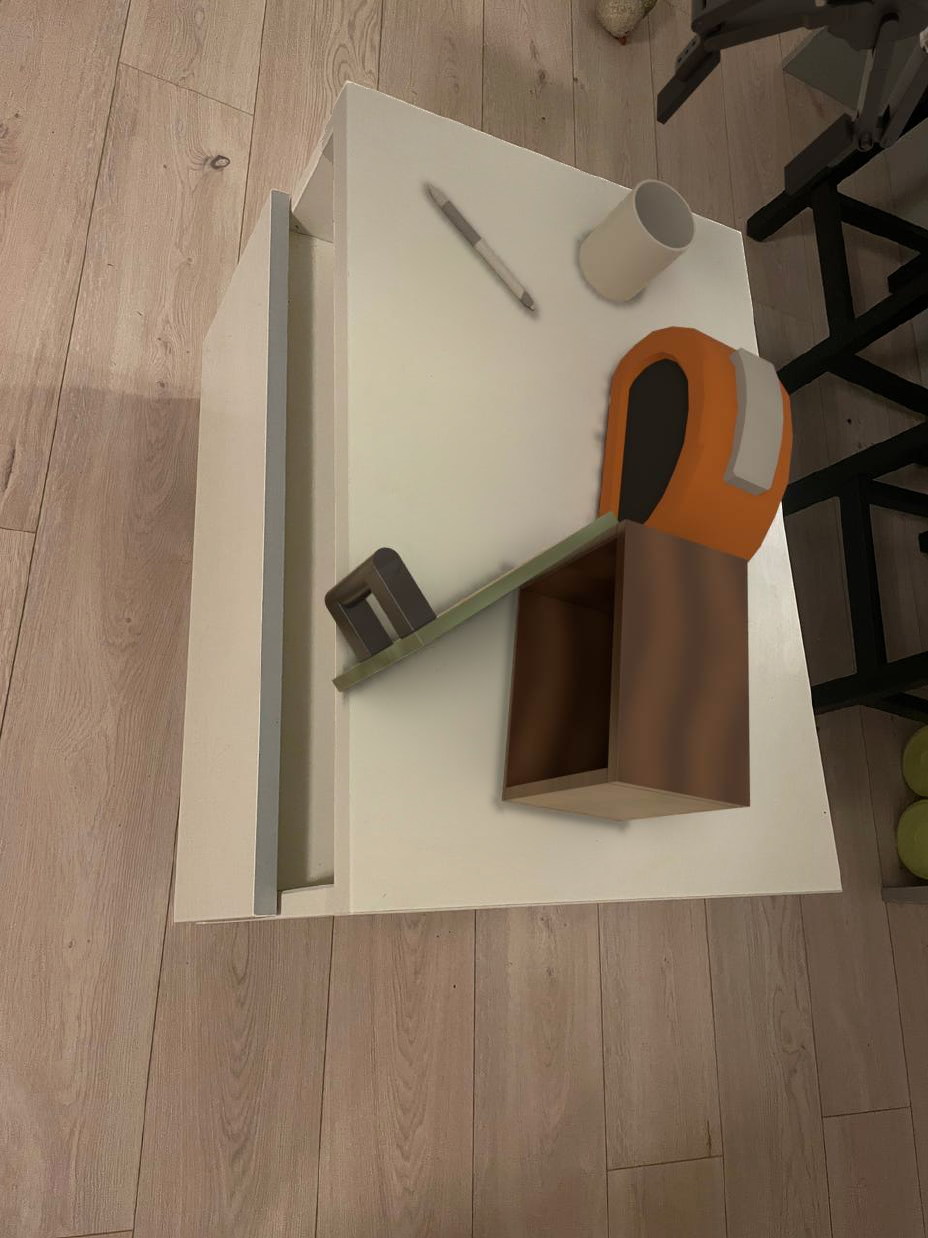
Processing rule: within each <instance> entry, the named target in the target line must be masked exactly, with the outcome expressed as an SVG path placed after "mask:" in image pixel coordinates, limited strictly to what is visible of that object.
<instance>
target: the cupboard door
mask: <svg viewBox="0 0 928 1238" xmlns="http://www.w3.org/2000/svg"><path fill="white" fill-rule="evenodd" d="M618 523H619V522H618V520H617V518H616V517H615V515H614V513H613V512H612V511H610V512H608V513H606V514H605V515H603V516H601V517H600V518H599V517H598V518H596V519H595V520H593V521H591V522H590V523H588V524H586V525H584V526H583V527H581V528H579V529H578V530H576V531H574V532H573V533H571V534H569V535H567V536H566V537H563V538H562V539H561V540H559V541H557V542H556V543H554V544H552V545H551V546H549V547H547V548H546V549H544V550H543V551H541V552H538V553H537V554H536V555H533V556H532V557H530V558H529V559H527V560H525V561H524V562H522V563H520V564H518V565H517V566H515V567H513V568H512V569H510V570H509V571H506V572H505V573H503V574H502V575H500V576H499V577H497V578H495V579H494V580H492V581H490V582H489V583H488V584H486V585H484V586H482V587H480V588H479V589H478V590H475V592H472V593H471V594H470V595H467V596H466V597H465V598H463V599H461V600H459V601H458V602H456V603H454V604H453V605H452V606H450V607H448V608H447V609H445V610H443V611H442V612H440V613H439V614H436V613H435V612H434V610H433V608H432V607H431V605H430V603H429V601H428V600H427V598H426V596H425V595H424V593H423V592H422V590H421V589H420V587H419V585H418V583H417V582H416V580H415V579H414V577H413V576H412V574H411V572H410V571H409V569H408V567H407V565H406V564H405V562H404V561H403V559H402V557H401V556H400V553H398V552H397V551H396V550H395V549H393V548H390V547H387V546H386V547H385V546H384V547H380V548H378V549H377V550H375V551H373V553H372V554H371V555H369V556H368V557H367V558H365V560H363V561H362V562H361V563H360V564H359V565H358V566H356V567H355V568H354V569H353V570H352V571H350V572H349V573H348V574H346V576H344V577H342V579H341V580H339V581H338V582H337V583H336V584H335V585H333V586H332V587H331V588H330V589H329V590H328V591H326V594H325V596H324V605H325V608H326V609H327V611H328V612H329V614H330V616H331V617H332V619H333V620H334V622H335V624H336V626H337V627H338V629H339V630H340V632H341V633H342V636H343V637H344V638H345V640H346V641H347V643H348V645H349V647H350V648H351V651H353V653H354V655H355V657H356V658H357V659H358V662H359V663H357V664H356V665H354V666H353V667H351V668H349V669H348V670H346V671H344V672H343V673H341V674H340V675H337V676H336V677H335V678H333V679H331V682H332V683H333V685H334V687H335V688H336V690H337V692H339V693H341V692H342V691H344V690H346V689H348V688H350V687H351V686H354V685H356V684H357V683H359V682H361V681H363V680H364V679H366V678H368V677H370V676H372V675H374V674H376V673H378V672H379V671H381V670H383V669H385V668H387V667H388V666H391V665H392V664H394V663H396V662H398V661H400V660H401V659H404V658H405V657H407V656H409V655H411V654H413V653H415V652H416V651H418V650H420V649H422V648H425V646H427V645H428V644H430V643H432V642H434V641H436V640H437V639H438V638H440V637H441V636H443V635H444V634H446V633H448V632H449V631H452V629H454V628H456V627H457V626H459V625H460V624H462V623H464V622H465V621H467V620H468V619H470V618H472V617H473V616H475V615H476V614H478V613H479V612H481V611H482V610H484V609H486V608H487V607H489V606H490V605H492V604H493V603H495V602H497V601H498V600H500V599H501V598H503V597H504V596H506V595H508V594H509V593H511V592H512V591H514V590H516V589H518V587H519V586H520V585H522V584H523V583H525V582H527V581H528V580H530V579H531V578H533V577H534V576H536V575H538V574H539V573H541V572H542V571H544V570H546V569H547V568H549V567H550V566H552V565H553V564H555V563H557V562H558V561H560V560H561V559H563V558H565V557H566V556H568V555H569V554H571V553H572V552H574V551H576V550H577V549H579V548H580V547H582V546H583V545H585V544H587V543H588V542H590V541H591V540H593V539H595V538H596V537H598V536H599V535H601V534H602V533H604V532H606V531H607V530H609V529H610V528H612V527H613V526H615V525H617V524H618ZM372 595H373V596H374V598H375V600H376V602H377V603H378V604H379V606H380V608H381V609H382V612H383V613H384V614H385V616H386V617H387V619H388V621H389V623H390V624H391V625H392V627H393V629H394V631H395V632H396V634H397V636H398V639H396V640H394V641H392V639H391V637H390V635H389V633H388V632H387V630H386V629H385V627H384V626H383V625H382V623H381V621H380V619H379V618H378V616H377V615H376V613H375V611H374V609H373V608H372V605H371V604H370V603H369V602H368V600H367V599H368V598H369V597H370V596H372Z"/></svg>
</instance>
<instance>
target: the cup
mask: <svg viewBox="0 0 928 1238" xmlns="http://www.w3.org/2000/svg"><path fill="white" fill-rule="evenodd" d="M696 237H697V223H696V219H695V216H694V213H693V212H692V209H691V207H690V206H689V204H688V203H687V201H686V200H685V198H684V197H683V196H682V195H681V194H680V193H679V191H677V190H676V189H675V188H674V187H672V186H671V185H669V184H668V183H665V182H663V181H661V180H658V179H653V178H648V179H643V180H642V181H640V182H638V183H637V184H636V185H635V186H634V187H633V188H632V189H631V190H630V192H629V193H627V195H626V196H625V197H624V198H623V199H622V200H621V201H620V202H619V203H618V204H617V205H616V206H615V207H614V209H612V211H611V212H610V213H609V214H608V215H607V216H606V217H605V218H604V219H603V220H601V222H600V223H599V224H598V226H596V228H595V229H594V230H593V231H592V232H591V233H590V234H589V235H588V236H587V237H586V238H585V239H584V241H583V242H582V244H581V245H580V249H579V257H578V259H579V265H580V268H581V271H582V273H583V275H584V277H585V279H586V281H587V282H588V283H589V285H590V286H591V287H592V288H593V289H594V290H595V291H596V292H597V293H598V294H600V296H603V297H604V298H606V299H608V300H611V301H614V302H620V303H625V302H628V301H630V300H632V299H633V298H634V297H636V296H637V295H638V294H639V293H640V292H641V291H643V290H644V289H645V288H646V287H647V286H648V285H650V284H651V283H652V282H653V281H654V280H655V279H656V278H657V277H658V276H660V274H662V273H663V272H664V271H665V270H666V269H667V268H668V267H670V266H672V264H673V263H674V262H675V261H676V260H678V258H680V257H681V256H682V255H683V254H685V252H686V251H688V250H689V249H690V248H691V247H692V245H694V242H696Z"/></svg>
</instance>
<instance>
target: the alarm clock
mask: <svg viewBox="0 0 928 1238" xmlns="http://www.w3.org/2000/svg"><path fill="white" fill-rule="evenodd" d="M610 391H611V392H610V395H609V397H608V406H609V410H608V420H607V432H606V441H605V450H604V460H603V469H602V470H603V471H602V481H601V492H600V499H599V500H600V503H599V512H598V518H600V517H601V516H603V515H605V514H606V513H608V512H610V511H612V512H613V513H614V515H615V517H616V518H617V520H618V522H619V523H620V522H622V521H624V520H625V519H627V520H630V521H633V522H636V523H639V524H642V525H645V526H648V527H651V528H654V529H657V530H660V531H663V532H666V533H669V534H672V535H675V536H678V537H681V538H684V539H687V540H690V541H693V542H696V543H699V544H702V545H705V546H708V547H711V548H714V549H717V550H720V551H723V552H726V553H729V554H732V555H735V556H738V557H741V558H744V559H747V560H748V563H749V562H750V561H751V560H752V558H753V557H754V556H755V555H756V553H757V552H758V551H759V549H760V548H761V547H762V545H763V543H764V540H765V538H766V537H767V535H768V532H769V530H770V528H771V526H772V524H773V522H774V521H775V518H776V516H777V513H778V510H779V508H780V505H781V503H782V500H783V497H784V494H785V492H786V489H787V487H788V484H789V476H790V468H791V459H792V449H793V439H794V435H793V433H794V432H793V423H792V411H791V410H792V409H791V399H790V396H789V393H788V391H787V390H786V388H785V387H784V385H783V383H782V382H781V380H780V379H779V376H778V374H777V372H776V368H775V366H774V364H773V363H772V362H770V361H769V360H766V359H764V358H762V357H760V356H758V355H757V354H754V353H753V352H750V351H749V350H747V349H744V347H743V348H742V347H739V348H738V349H736V348H734V347H732V346H729V345H727V344H726V343H724V342H722V341H720V340H719V339H716V338H714V337H712V336H711V335H708V334H706V333H704V332H702V331H700V330H698V329H696V328H693V327H685V326H684V327H683V326H674V325H672V326H669V327H664V328H660V329H656V330H652V331H651V332H650V333H648V334H647V335H646V336H644V337H643V338H642V339H640V340H639V341H638V342H636V343H635V344H634V345H633V346H632V347H631V348H630V349H629V350H628V351H627V352H626V353H625V354H624V356H623V357H622V358H621V359H620V360H619V362H618V364H617V366H616V368H615V371H614V373H613V375H612V380H611V390H610Z"/></svg>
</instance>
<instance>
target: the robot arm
mask: <svg viewBox="0 0 928 1238" xmlns="http://www.w3.org/2000/svg"><path fill="white" fill-rule="evenodd" d="M690 3H691V4H690V29H691V31H692V32H693V33H695V35H694V36H693V37H692V38H691V40H689V42H688V43H687V44H686V45H685V47H684V48H683V49H682V51H681V52H680V53H679V54H678V55H677V56H676V59H675V62H674V75H673V76H672V77H671V78H670V79H669V81H667V83H666V84H665V85H664V86H663V88H661V90H659V92H658V94H656V98H657V99H656V122H658V123H660V124H662V125H664V126H665V125H666V123H667V122H668V121H669V120H670V119H671V118H672V117H673V116H674V114H675V113H676V112H677V111H678V110H679V109H680V108H681V107H682V106H683V105H684V103H686V101H687V100H688V99H689V98H690V96H692V94H693V93H694V92H695V91H696V90H697V89H698V88H699V87H700V85H701V84H703V82H704V81H705V80H706V79H707V78H708V77H709V75H711V73H712V72H713V71H714V70H715V69H716V68H717V66H718V65H719V64H720V63H721V51H723V50H727V49H729V48H730V49H731V48H733V47H737V46H740V45H745V44H749V43H751V42H755V41H759V40H761V39H765V38H769V37H772V36H776V35H779V34H783V33H786V32H791V31H794V30H797V29H801V28H803V29H806V30H807V31H808V30H809V31H813V30H816V29H820V28H824V27H826V32H827V33H828V34H830V35H831V36H833V37H835V38H838V39H842V40H845V42H846V43H847V44H848V46H849V47H850V48H851V49H852V50H854V51H856V52H857V53H859V52H861V51H862V50H864V51H867V53H866V59H865V64H864V70H863V75H862V80H861V84H860V90H859V94H858V95H859V96H858V101H857V107H856V110H855V111H856V112H855V119H854V120H853V116H851V115H849V113H846V112H844V113H842V114H841V115H840V116H839V117H838V118H837V119H836V120H835V121H834V122H832V124H830V125H829V126H828V127H827V128H826V129H825V130H824V131H823V132H821V133H820V134H819V135H818V136H817V137H816V138H815V139H814V140H812V141H811V142H810V143H809V144H808V145H807V146H806V147H805V148H804V149H803V150H801V151H800V152H799V153H798V154H797V155H796V156H795V157H794V158H793V159H792V160H790V161H789V162H788V163H787V164H786V165H785V166H784V167H783V174H784V175H783V177H784V193H786V194H788V195H790V196H793V195H794V194H795V193H796V192H798V191H799V190H800V189H801V188H802V187H803V186H804V185H806V184H807V183H808V182H809V181H810V180H811V179H813V178H814V177H815V176H816V175H817V174H818V173H820V172H821V171H822V170H823V169H825V167H828V168H832V167H835V166H837V165H838V164H840V163H841V162H842V161H843V160H844V159H846V158H847V157H848V156H849V155H850V154H852V153H853V152H854V151H855V150H856V149H857V150H858V151H859V152H863V153H864V152H869V151H870V150H871V149H873V147H874V145H875V144H874V143H877V144H878V143H879V147H880V148H882V149H890V148H892V147H893V146H894V145H895V144H896V143H897V142H898V139H899V138H900V136H901V134H902V133H903V130H904V129H905V127H906V125H907V123H908V121H909V119H910V117H911V116H912V114H913V112H914V110H915V109H916V107H917V105H918V103H919V101H920V99H921V98H922V96H923V94H924V92H925V90H926V89H927V87H928V0H823V5H821V6H819V5H817V0H691V2H690ZM916 35H919V40H918V41H917V43H916V45H915V47H914V49H913V50H912V53H911V54H910V57H909V58H908V61H907V63H906V65H905V66H904V68H903V70H902V72H901V74H900V76H899V78H898V80H897V82H896V84H895V86H894V88H893V90H892V92H891V93H890V96H889V98H888V99H887V101H886V104H885V105H884V107H883V109H882V111H881V113H880V108H881V104H882V98H883V95H884V94H883V93H884V89H885V86H886V85H885V84H886V79H887V77H888V71H889V70H890V68H891V64H892V59H893V54H894V49H895V45H896V42H899V41H902V40H904V39H907V38H911V37H914V36H916ZM879 113H880V115H879Z"/></svg>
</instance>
